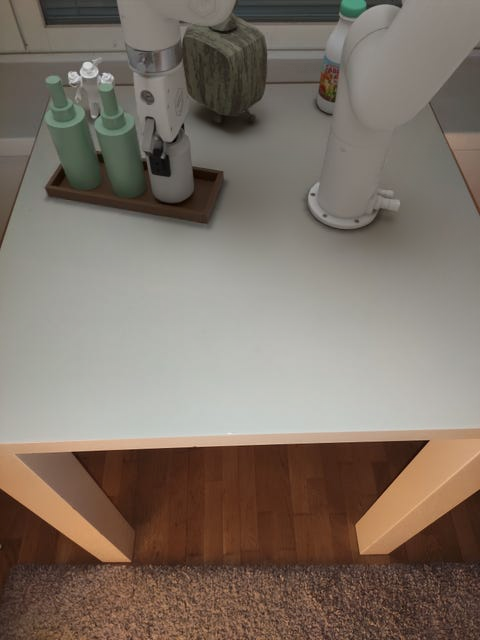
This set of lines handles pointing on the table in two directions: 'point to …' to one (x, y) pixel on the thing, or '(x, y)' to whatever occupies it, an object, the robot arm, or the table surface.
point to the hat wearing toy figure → (90, 84)
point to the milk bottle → (336, 53)
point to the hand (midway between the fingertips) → (169, 158)
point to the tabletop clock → (225, 66)
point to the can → (174, 171)
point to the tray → (146, 194)
